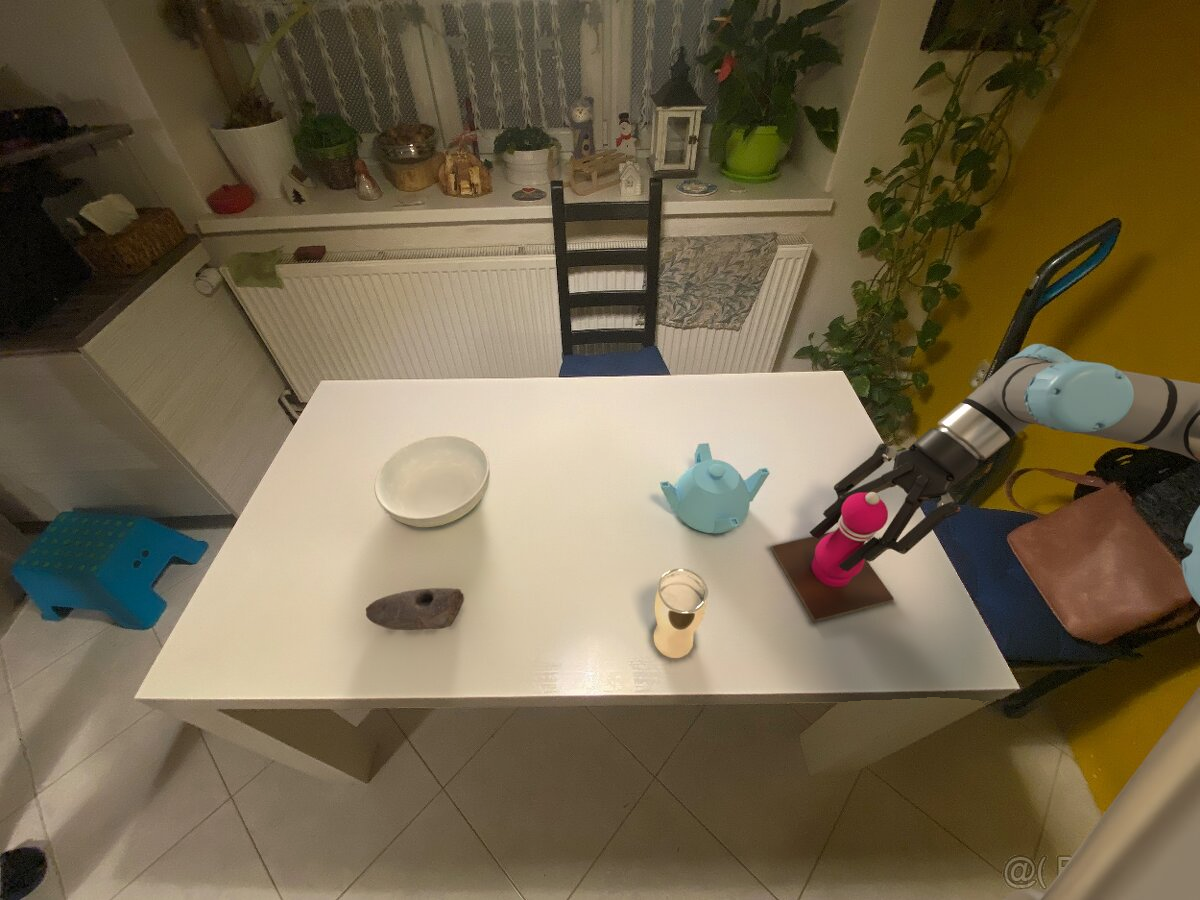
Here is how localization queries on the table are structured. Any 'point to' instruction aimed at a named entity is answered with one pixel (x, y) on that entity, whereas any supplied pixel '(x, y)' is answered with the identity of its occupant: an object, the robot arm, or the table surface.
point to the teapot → (713, 493)
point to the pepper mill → (848, 538)
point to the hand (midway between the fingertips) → (828, 551)
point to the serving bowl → (433, 480)
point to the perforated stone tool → (416, 609)
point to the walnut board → (822, 597)
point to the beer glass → (678, 611)
